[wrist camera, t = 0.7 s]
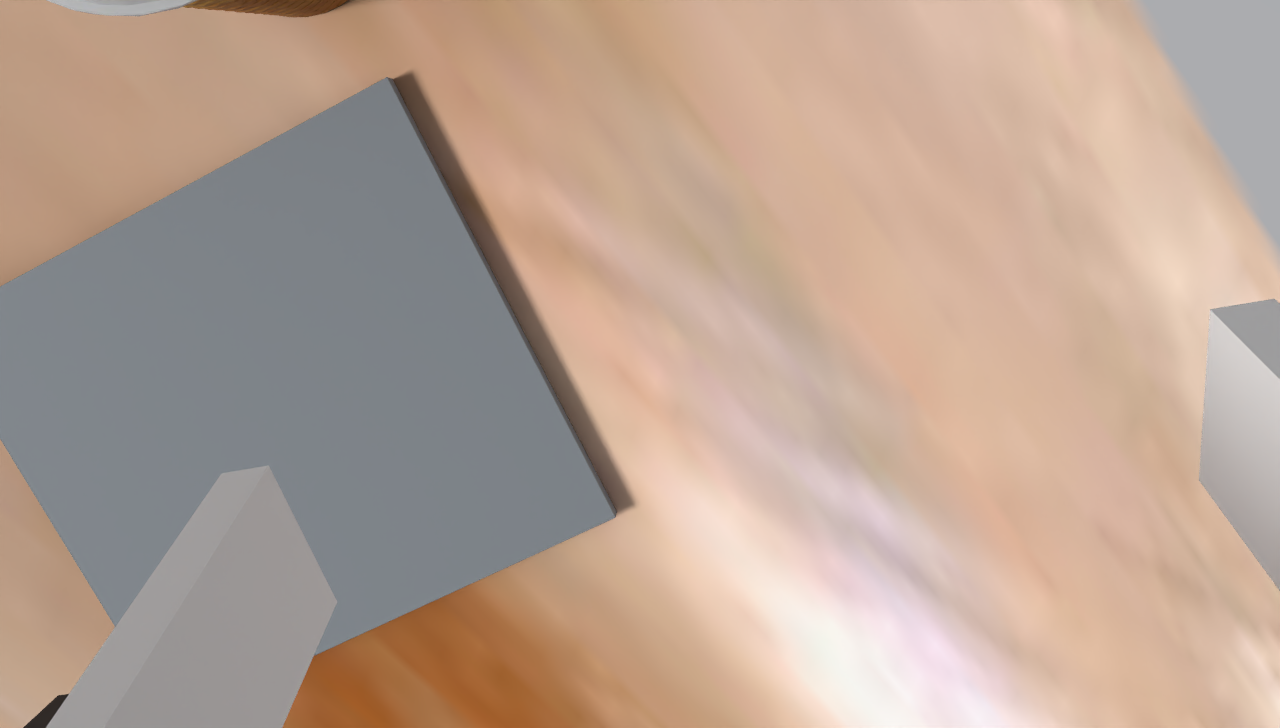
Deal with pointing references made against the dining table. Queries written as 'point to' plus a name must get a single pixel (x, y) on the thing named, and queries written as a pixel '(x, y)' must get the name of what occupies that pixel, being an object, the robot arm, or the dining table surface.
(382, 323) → the mat
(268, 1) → the disposable coffee cup
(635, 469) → the dining table surface
